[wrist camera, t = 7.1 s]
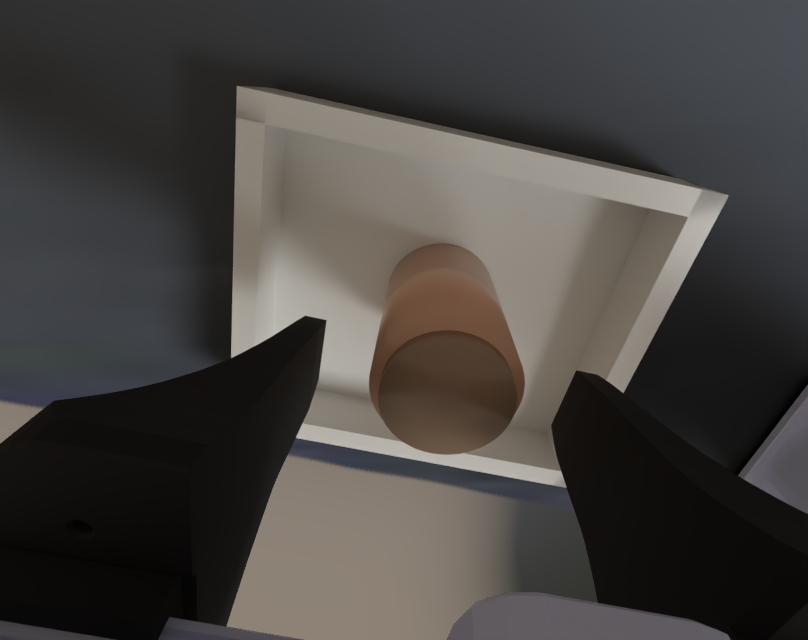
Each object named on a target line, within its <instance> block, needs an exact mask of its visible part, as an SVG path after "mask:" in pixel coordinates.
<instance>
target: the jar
mask: <svg viewBox="0 0 808 640" xmlns="http://www.w3.org/2000/svg"><path fill="white" fill-rule="evenodd" d="M524 388H525V376H524V371H523V367H522V364H521V361H520V358H519V355H518V353H517V350H516V347H515V344H514V341H513V338H512V336H511V333H510V330H509V327H508V324H507V321H506V319H505V316H504V313H503V310H502V307H501V304H500V302H499V299H498V296H497V293H496V290H495V287H494V285H493V282H492V279H491V276H490V274H489V271H488V270H487V268H486V266H485V265H484V264H483V262H482V261H481V260H480V259H479V258H478V257H477V256H476V255H474V254H473V253H472V252H470V251H468V250H466V249H465V248H462V247H459V246H456V245H452V244H444V243H443V244H430V245H426V246H422V247H420V248H418V249H415V250H414V251H412V252H410V253H409V254H407V255H406V256H405V257H404V258H403V259H402V260H401V261H400V262H399V263H398V264H397V265H396V267H395V268H394V270H393V272H392V274H391V276H390V279H389V283H388V287H387V292H386V297H385V302H384V307H383V312H382V317H381V321H380V326H379V331H378V336H377V341H376V346H375V351H374V356H373V360H372V365H371V370H370V375H369V392H370V397H371V400H372V403H373V405H374V408H375V410H376V411H377V413H378V415H379V416H380V417H381V419H382V420H383V421H384V423H385V424H386V426H387V427H388V429H389V430H390V431H391V432H392V433H393V434H394V435H395V436H396V437H397V438H398V439H400V440H401V441H402V442H404V443H405V444H407V445H409V446H411V447H413V448H415V449H418V450H421V451H424V452H428V453H433V454H441V455H452V454H461V453H466V452H470V451H473V450H476V449H479V448H481V447H483V446H485V445H487V444H489V443H490V442H492V441H493V440H495V439H496V438H497V437H498V436H500V435H501V434H502V433H503V432H504V430H505V429H506V428H507V427H508V425H509V424H510V422H511V421H512V418H513V416H514V414H515V413H516V411H517V410H518V408H519V406H520V403H521V401H522V398H523V394H524Z"/></svg>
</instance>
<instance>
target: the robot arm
mask: <svg viewBox="0 0 808 640" xmlns="http://www.w3.org/2000/svg"><path fill="white" fill-rule="evenodd" d="M326 321H327V320H324V319H319V318H314V317H309V316H304V317H302V318H300V319H299V320H297V321H295V322H294V323H292V324H291V325H289V326H288V327H286V328H284V329H283V330H281V331H280V332H278V333H277V334H275V335H273V336H272V337H270V338H268V339H267V340H265V341H263V342H262V343H260V344H258V345H256V346H254V347H252V348H250V349H248V350H246V351H244V352H242V353H241V354H239V355H237V356H234V357H232V358H230V359H228V360H225V361H223V362H221V363H218V364H216V365H213V366H211V367H208V368H205V369H203V370H200V371H197V372H193V373H190V374H187V375H184V376H180V377H177V378H174V379H171V380H167V381H164V382H160V383H156V384H152V385H148V386H143V387H139V388H134V389H129V390H124V391H119V392H113V393H108V394H101V395H94V396H87V397H80V398H73V399H65V400H56V401H53V402H52V403H51V404H49V405H48V406H47V407H45V408H44V409H43V410H42V411H40V412H39V413H38V414H37V415H35V416H34V417H33V418H32V419H30V420H29V421H28V422H27V423H25V424H24V425H23V426H22V427H20V428H19V429H18V430H17V431H16V432H14V433H13V434H12V435H11V436H9V437H8V438H7V439H6V440H5V441H3V442H2V443H1V444H0V640H302V639H296V638H290V637H284V636H279V635H273V634H267V633H261V632H255V631H249V630H243V629H237V628H231V627H226V626H227V622H228V619H229V616H230V613H231V610H232V606H233V603H234V600H235V597H236V594H237V591H238V588H239V585H240V582H241V579H242V576H243V573H244V570H245V567H246V563H247V560H248V558H249V555H250V552H251V548H252V546H253V543H254V540H255V537H256V534H257V531H258V528H259V525H260V522H261V519H262V517H263V514H264V511H265V508H266V505H267V502H268V499H269V497H270V494H271V491H272V488H273V486H274V484H275V481H276V479H277V476H278V474H279V472H280V470H281V467H282V465H283V463H284V461H285V459H286V457H287V455H288V453H289V451H290V449H291V447H292V445H293V442H294V440H295V438H296V436H297V434H298V432H299V430H300V428H301V426H302V423H303V421H304V419H305V417H306V415H307V413H308V411H309V408H310V405H311V402H312V399H313V396H314V393H315V390H316V386H317V383H318V380H319V373H320V365H321V358H322V351H323V343H324V336H325V328H326ZM551 428H552V435H553V441H554V446H555V452H556V457H557V460H558V463H559V466H560V469H561V472H562V475H563V478H564V481H565V484H566V487H567V490H568V493H569V496H570V499H571V502H572V504H573V507H574V510H575V513H576V516H577V519H578V522H579V525H580V528H581V531H582V534H583V538H584V541H585V545H586V549H587V553H588V557H589V562H590V567H591V571H592V575H593V580H594V585H595V590H596V595H597V600H598V603H595V602H590V601H584V600H579V599H573V598H567V597H562V596H556V595H550V594H545V593H528V592H526V593H525V592H522V593H521V592H505V593H502V594H499V595H496V596H493V597H490V598H487V599H484V600H481V601H477V602H476V603H475V604H473V606H472V607H471V608H470V609H468V610H467V612H465V613H464V614H463V616H461V617H460V618H459V619H458V621H457V622H456V623H454V625H453V627H452V629H451V631H450V634H449V636H448V638H447V640H808V385H807V386H806V387H805V389H804V390H803V391H802V393H801V394H800V395H799V397H798V398H797V399H796V400H795V402H794V403H793V404H792V406H791V407H790V408H789V410H788V411H787V412H786V414H785V415H784V416H783V417H782V419H781V420H780V421H779V423H778V424H777V425H776V427H775V428H774V429H773V430H772V432H771V433H770V434H769V436H768V437H767V438H766V440H765V441H764V442H763V444H762V445H761V446H760V447H759V449H758V450H757V451H756V453H755V454H754V455H753V457H752V458H751V459H750V460H749V462H748V463H747V464H746V466H745V467H744V468H743V470H742V471H741V472H740V474H739V475H738V476H737V475H736V474H734V473H732V472H731V471H729V470H728V469H726V468H725V467H723V466H721V465H720V464H718V463H717V462H715V461H714V460H712V459H711V458H709V457H707V456H706V455H704V454H703V453H702V452H700V451H699V450H697V449H696V448H694V447H693V446H691V445H690V444H689V443H687V442H686V441H685V440H683V439H682V438H680V437H679V436H678V435H676V434H675V433H674V432H672V431H671V430H670V429H668V428H667V427H666V426H664V425H663V424H662V423H660V422H659V421H658V420H657V419H655V418H654V417H653V416H651V415H650V414H649V413H648V412H646V411H645V410H644V409H643V408H641V407H640V406H639V405H638V404H636V403H635V402H634V401H633V400H631V399H630V398H629V397H628V396H626V395H625V394H624V393H622V392H621V391H620V390H619V389H617V388H616V387H615V386H613V385H612V384H611V383H609V382H608V381H606V380H605V379H604V378H602V377H600V376H599V375H597V374H592V373H587V372H582V371H577V370H576V372H575V374H574V376H573V378H572V381H571V383H570V385H569V387H568V389H567V392H566V394H565V396H564V398H563V400H562V402H561V405H560V407H559V409H558V411H557V413H556V416H555V418H554V420H553V422H552V424H551Z"/></svg>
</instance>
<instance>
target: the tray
mask: <svg viewBox="0 0 808 640" xmlns="http://www.w3.org/2000/svg"><path fill="white" fill-rule="evenodd" d="M728 196H729V195H726V194H723V193H720V192H717V191H714V190H711V189H708V188H705V187H702V186H699V185H696V184H693V183H690V182H687V181H684V180H681V179H678V178H674V177H670V176H665V175H661V174H656V173H652V172H647V171H643V170H638V169H634V168H629V167H625V166H620V165H616V164H612V163H607V162H603V161H598V160H594V159H589V158H585V157H580V156H576V155H571V154H567V153H562V152H558V151H553V150H549V149H544V148H540V147H535V146H531V145H526V144H522V143H517V142H513V141H508V140H504V139H500V138H495V137H491V136H486V135H482V134H477V133H473V132H468V131H464V130H459V129H455V128H450V127H446V126H441V125H437V124H432V123H428V122H423V121H419V120H414V119H410V118H405V117H401V116H396V115H392V114H387V113H383V112H379V111H374V110H370V109H365V108H361V107H356V106H352V105H347V104H343V103H338V102H334V101H329V100H325V99H320V98H316V97H311V96H307V95H302V94H298V93H293V92H289V91H284V90H280V89H275V88H268V87H249V86H237V99H236V147H235V195H234V243H233V290H232V338H231V358H232V357H234V356H237V355H239V354H241V353H242V352H244V351H246V350H248V349H250V348H252V347H254V346H256V345H258V344H260V343H262V342H263V341H265V340H267V339H268V338H270V337H272V336H273V335H275V334H277V333H278V332H280V331H281V330H283V329H284V328H286V327H288V326H289V325H291V324H292V323H294V322H295V321H297V320H299V319H300V318H302V317H304V316H309V317H314V318H319V319H324V320H327V321H326V328H325V336H324V343H323V351H322V358H321V365H320V373H319V380H318V383H317V386H316V390H315V393H314V396H313V399H312V402H311V405H310V408H309V411H308V413H307V415H306V417H305V419H304V421H303V423H302V426H301V428H300V430H299V432H298V434H297V436H296V438H300V439H305V440H311V441H316V442H321V443H327V444H332V445H338V446H343V447H348V448H354V449H359V450H365V451H370V452H376V453H381V454H386V455H392V456H397V457H403V458H408V459H413V460H419V461H424V462H430V463H435V464H441V465H446V466H451V467H457V468H462V469H468V470H473V471H478V472H484V473H489V474H495V475H500V476H506V477H511V478H516V479H522V480H527V481H533V482H538V483H544V484H549V485H554V486H560V487H565V488H567V487H566V484H565V481H564V478H563V475H562V472H561V469H560V466H559V463H558V460H557V457H556V452H555V446H554V441H553V435H552V428H551V424H552V422H553V420H554V418H555V416H556V413H557V411H558V409H559V407H560V405H561V402H562V400H563V398H564V396H565V394H566V392H567V389H568V387H569V385H570V383H571V381H572V378H573V376H574V374H575V372H576V370H577V371H582V372H587V373H592V374H597V375H599V376H600V377H602V378H604V379H605V380H606V381H608V382H609V383H611V384H612V385H613V386H615V387H616V388H617V389H619V390H620V391H621V392H622V393H624V391H625V389H626V387H627V385H628V384H629V382H630V380H631V378H632V376H633V374H634V372H635V370H636V369H637V367H638V365H639V363H640V361H641V359H642V357H643V355H644V354H645V352H646V350H647V348H648V346H649V344H650V342H651V340H652V339H653V337H654V335H655V333H656V331H657V329H658V327H659V326H660V324H661V322H662V320H663V318H664V316H665V314H666V312H667V311H668V309H669V307H670V305H671V303H672V301H673V299H674V297H675V296H676V294H677V292H678V290H679V288H680V286H681V284H682V282H683V281H684V279H685V277H686V275H687V273H688V271H689V269H690V267H691V266H692V264H693V262H694V260H695V258H696V256H697V254H698V253H699V251H700V249H701V247H702V245H703V243H704V241H705V239H706V238H707V236H708V234H709V232H710V230H711V228H712V226H713V224H714V223H715V221H716V219H717V217H718V215H719V213H720V211H721V209H722V208H723V206H724V204H725V202H726V200H727V198H728ZM443 243H444V244H452V245H456V246H459V247H462V248H465V249H466V250H468V251H470V252H472V253H473V254H474V255H476V256H477V257H478V258H479V259H480V260H481V261H482V262H483V264H484V265H485V266H486V268H487V270H488V271H489V274H490V276H491V279H492V282H493V285H494V287H495V290H496V293H497V296H498V299H499V302H500V304H501V307H502V310H503V313H504V316H505V319H506V321H507V324H508V327H509V330H510V333H511V336H512V338H513V341H514V344H515V347H516V350H517V353H518V355H519V358H520V361H521V364H522V367H523V371H524V376H525V388H524V394H523V398H522V401H521V403H520V406H519V408H518V410H517V411H516V413H515V414H514V416H513V418H512V421H511V422H510V424H509V425H508V427H507V428H506V429H505V430H504V432H503V433H502V434H501V435H500V436H498V437H497V438H496V439H495V440H493V441H492V442H490V443H489V444H487V445H485V446H483V447H481V448H479V449H476V450H473V451H470V452H466V453H461V454H452V455H441V454H433V453H428V452H424V451H421V450H418V449H415V448H413V447H411V446H409V445H407V444H405V443H404V442H402V441H401V440H400V439H398V438H397V437H396V436H395V435H394V434H393V433H392V432H391V431H390V430H389V429H388V427H387V426H386V424H385V423H384V421H383V420H382V419H381V417H380V416H379V415H378V413H377V411H376V410H375V408H374V405H373V403H372V400H371V397H370V392H369V375H370V370H371V365H372V360H373V356H374V351H375V346H376V341H377V336H378V331H379V326H380V321H381V317H382V312H383V307H384V302H385V297H386V292H387V287H388V283H389V279H390V276H391V274H392V272H393V270H394V268H395V267H396V265H397V264H398V263H399V262H400V261H401V260H402V259H403V258H404V257H405V256H406V255H407V254H409V253H410V252H412V251H414V250H415V249H418V248H420V247H422V246H426V245H430V244H443Z"/></svg>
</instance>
